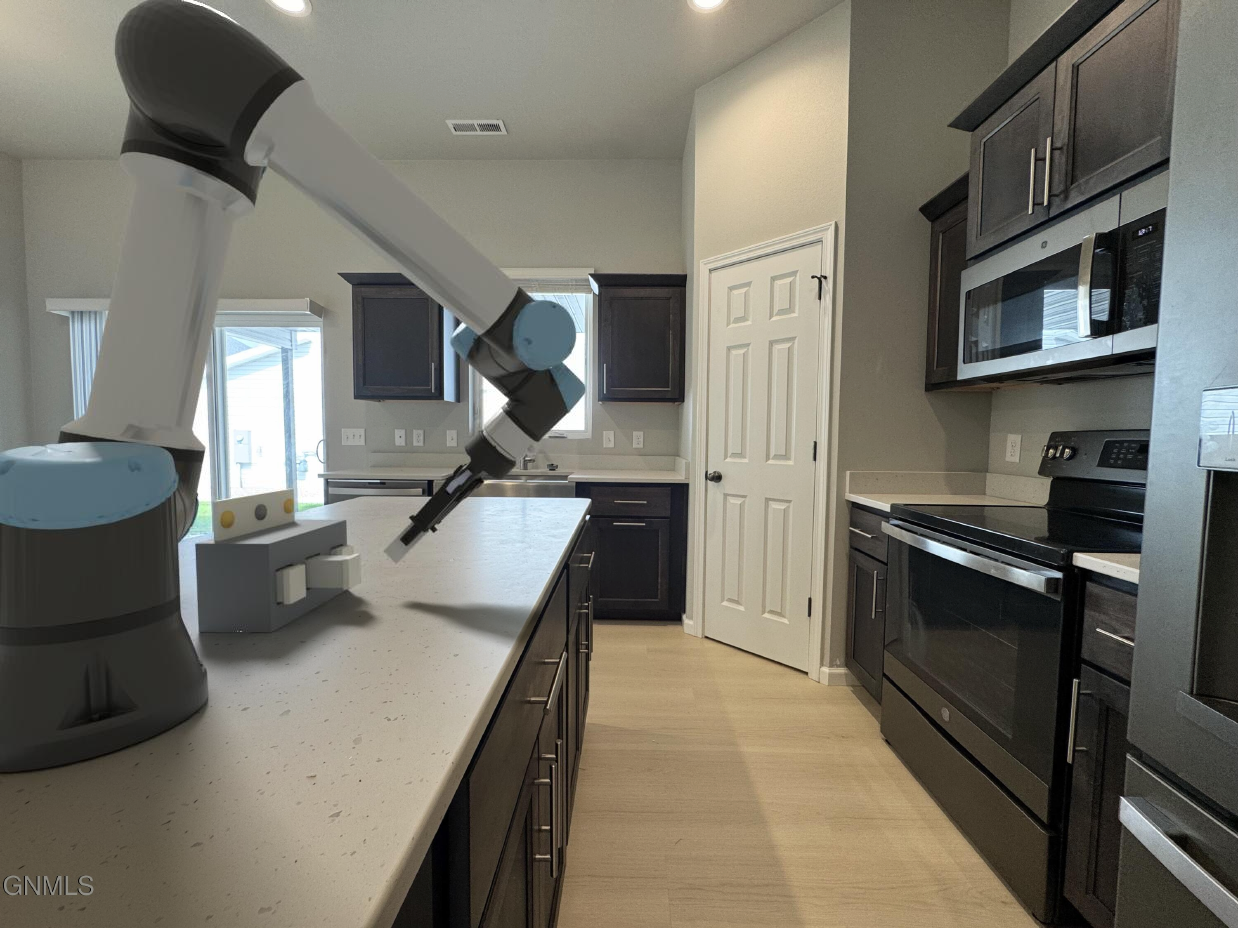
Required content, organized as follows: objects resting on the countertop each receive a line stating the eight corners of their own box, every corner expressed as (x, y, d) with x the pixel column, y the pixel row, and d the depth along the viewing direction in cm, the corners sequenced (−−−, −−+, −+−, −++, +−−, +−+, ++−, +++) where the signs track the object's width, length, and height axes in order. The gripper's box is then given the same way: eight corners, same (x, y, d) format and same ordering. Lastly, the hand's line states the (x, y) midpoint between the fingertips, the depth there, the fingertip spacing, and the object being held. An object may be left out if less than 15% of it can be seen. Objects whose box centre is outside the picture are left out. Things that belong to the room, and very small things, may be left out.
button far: (342, 577, 82) (342, 549, 82) (290, 577, 83) (289, 548, 82) (354, 571, 86) (353, 544, 86) (303, 571, 86) (302, 544, 86)
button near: (290, 604, 69) (289, 570, 69) (228, 603, 70) (227, 570, 69) (306, 596, 73) (305, 564, 73) (246, 595, 73) (245, 564, 73)
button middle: (349, 589, 76) (348, 559, 76) (292, 589, 76) (291, 558, 76) (361, 582, 79) (360, 553, 79) (306, 582, 79) (305, 553, 79)
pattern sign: (220, 541, 69) (219, 501, 69) (214, 541, 69) (212, 501, 69) (296, 521, 85) (295, 488, 85) (290, 521, 85) (289, 488, 85)
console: (271, 632, 68) (268, 543, 68) (198, 632, 68) (195, 543, 68) (348, 589, 87) (346, 519, 87) (290, 589, 87) (288, 519, 87)
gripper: (509, 465, 77) (392, 585, 78) (525, 460, 90) (424, 563, 91) (470, 427, 77) (353, 548, 78) (492, 428, 90) (391, 531, 91)
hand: (391, 556), depth 84 cm, fingers closed
